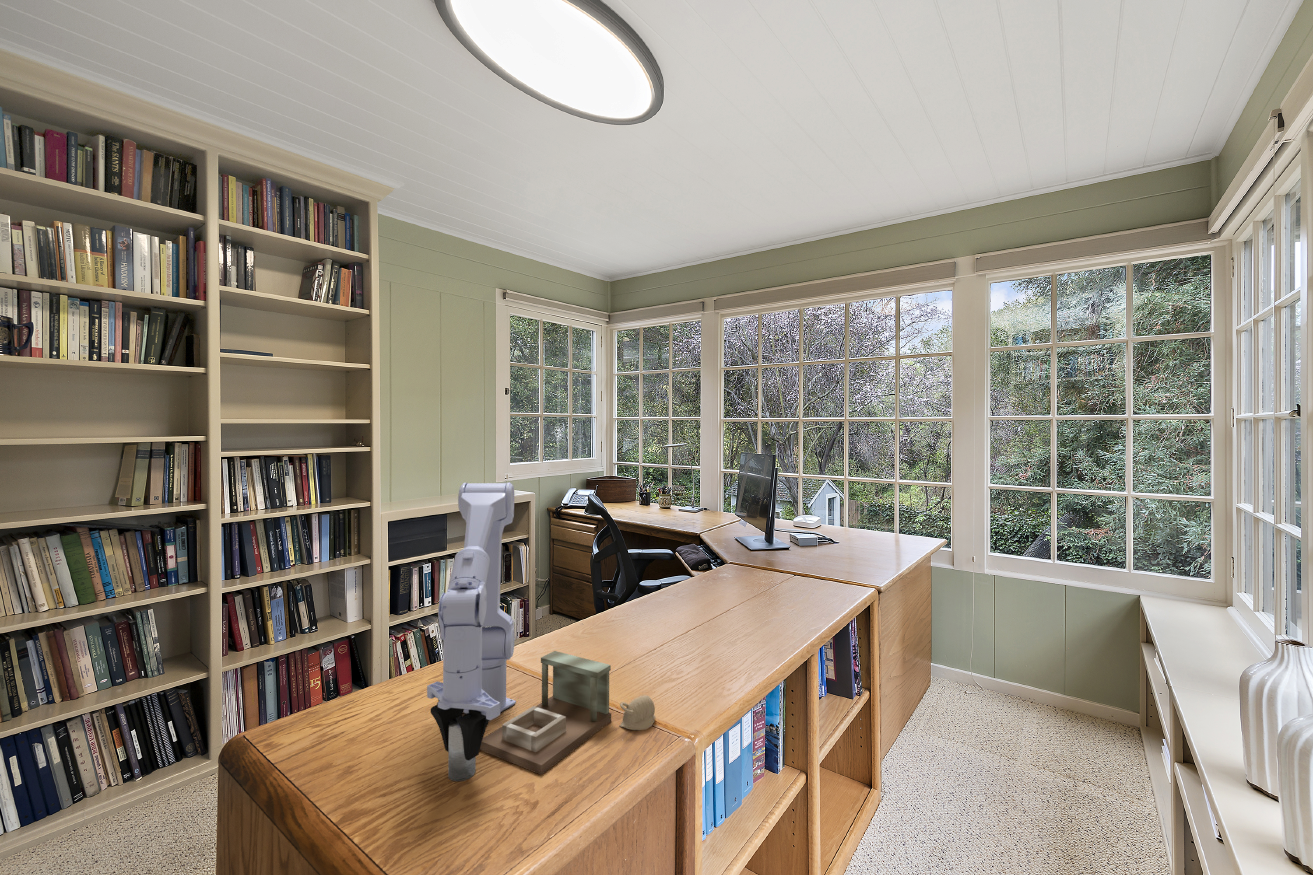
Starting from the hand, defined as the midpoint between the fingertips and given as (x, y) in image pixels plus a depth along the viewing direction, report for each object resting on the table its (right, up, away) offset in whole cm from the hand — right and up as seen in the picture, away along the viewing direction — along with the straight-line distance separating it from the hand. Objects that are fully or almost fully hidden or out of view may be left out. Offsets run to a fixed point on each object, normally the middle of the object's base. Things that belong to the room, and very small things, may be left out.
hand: (462, 752), depth 85 cm
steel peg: (0, -3, 0) cm, 3 cm away
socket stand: (+11, -3, +11) cm, 16 cm away
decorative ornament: (+27, -4, +15) cm, 31 cm away
